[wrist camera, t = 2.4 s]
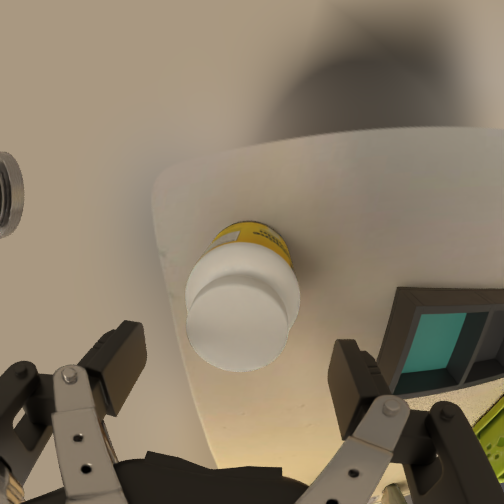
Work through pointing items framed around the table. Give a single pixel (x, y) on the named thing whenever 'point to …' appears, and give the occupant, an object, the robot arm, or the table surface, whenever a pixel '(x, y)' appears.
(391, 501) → the cream tall rounded block
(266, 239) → the pill bottle
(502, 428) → the flower pot
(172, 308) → the table surface
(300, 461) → the table surface
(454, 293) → the dark grey divided tray
